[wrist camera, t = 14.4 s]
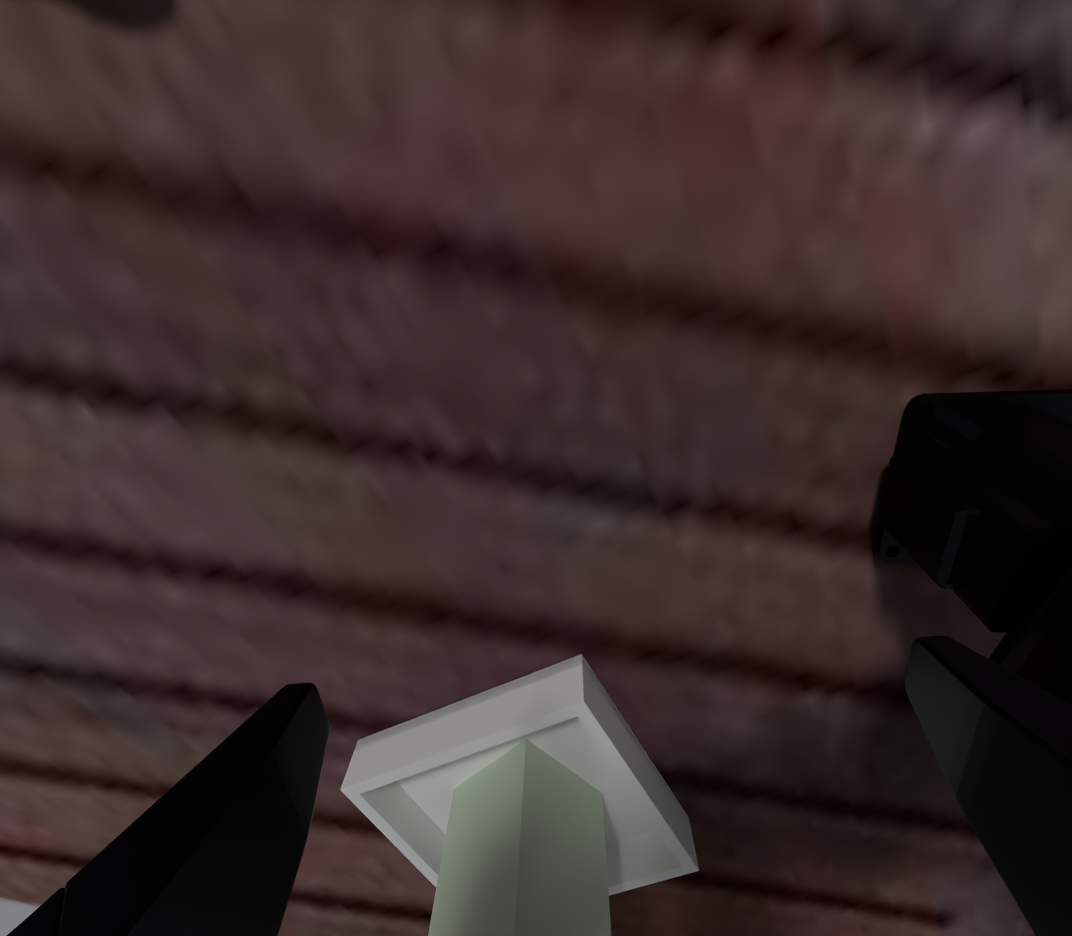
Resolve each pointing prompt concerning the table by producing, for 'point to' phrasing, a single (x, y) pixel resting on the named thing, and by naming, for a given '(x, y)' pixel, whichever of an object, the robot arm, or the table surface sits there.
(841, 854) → the table surface
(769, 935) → the table surface
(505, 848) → the handle block
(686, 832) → the tray
